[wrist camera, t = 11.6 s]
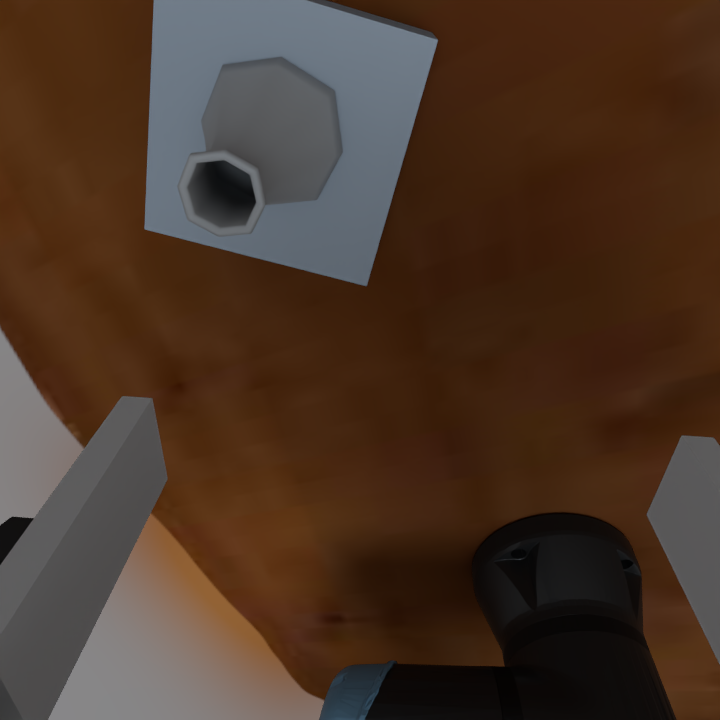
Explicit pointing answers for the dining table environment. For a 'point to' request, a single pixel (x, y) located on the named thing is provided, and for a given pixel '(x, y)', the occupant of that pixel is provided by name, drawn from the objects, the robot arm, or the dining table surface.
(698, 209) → the dining table surface
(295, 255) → the grey block
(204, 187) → the flask
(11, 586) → the robot arm
